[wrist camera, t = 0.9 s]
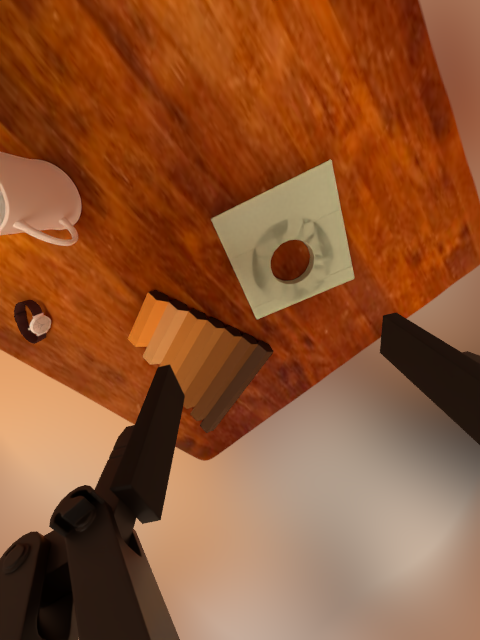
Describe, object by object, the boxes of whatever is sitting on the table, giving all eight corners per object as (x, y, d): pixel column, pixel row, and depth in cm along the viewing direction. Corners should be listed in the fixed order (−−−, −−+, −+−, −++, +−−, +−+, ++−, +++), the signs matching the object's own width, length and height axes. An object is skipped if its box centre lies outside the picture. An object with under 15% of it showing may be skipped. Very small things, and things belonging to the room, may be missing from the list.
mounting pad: (211, 218, 34) (210, 218, 32) (325, 162, 31) (331, 159, 30) (255, 315, 42) (256, 319, 40) (348, 275, 39) (354, 278, 38)
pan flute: (214, 422, 54) (271, 345, 45) (213, 435, 51) (274, 355, 42) (108, 387, 47) (151, 288, 38) (100, 399, 44) (145, 294, 35)
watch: (55, 338, 41) (41, 349, 38) (27, 335, 40) (10, 346, 37) (48, 300, 38) (32, 308, 34) (17, 295, 37) (-3, 304, 34)
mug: (114, 221, 33) (62, 227, 22) (79, 258, 35) (16, 280, 24) (36, 143, 28) (-77, 104, 18) (1, 191, 30) (-119, 182, 20)
